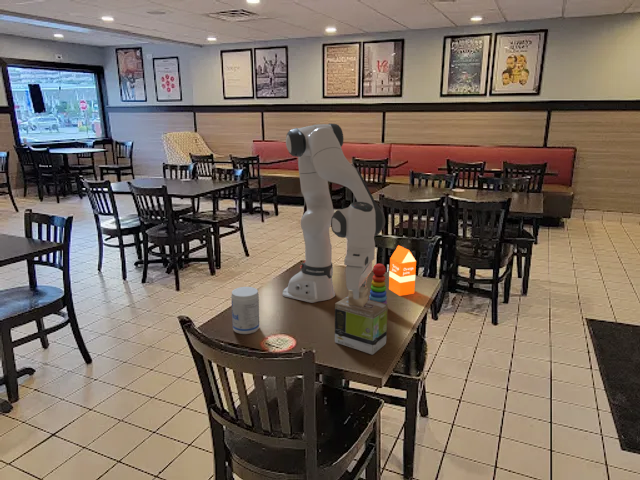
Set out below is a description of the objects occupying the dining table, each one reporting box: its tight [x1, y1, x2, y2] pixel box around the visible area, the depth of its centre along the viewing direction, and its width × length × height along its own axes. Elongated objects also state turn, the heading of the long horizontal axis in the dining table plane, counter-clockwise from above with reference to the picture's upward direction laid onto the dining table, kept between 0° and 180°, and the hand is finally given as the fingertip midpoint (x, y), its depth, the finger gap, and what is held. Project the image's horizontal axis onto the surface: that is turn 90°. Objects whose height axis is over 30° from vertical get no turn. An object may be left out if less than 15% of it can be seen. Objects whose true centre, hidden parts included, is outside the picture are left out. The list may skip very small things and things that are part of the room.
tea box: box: [334, 295, 388, 356], centre depth 153 cm, size 15×10×15 cm, turn 54°
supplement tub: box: [230, 286, 260, 335], centre depth 163 cm, size 10×10×15 cm
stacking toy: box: [368, 263, 388, 309], centre depth 179 cm, size 8×8×19 cm
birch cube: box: [347, 286, 369, 307], centre depth 150 cm, size 5×5×5 cm
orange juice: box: [388, 244, 417, 297], centre depth 197 cm, size 8×9×20 cm
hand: (359, 293), depth 150 cm, fingers open, 7 cm apart
